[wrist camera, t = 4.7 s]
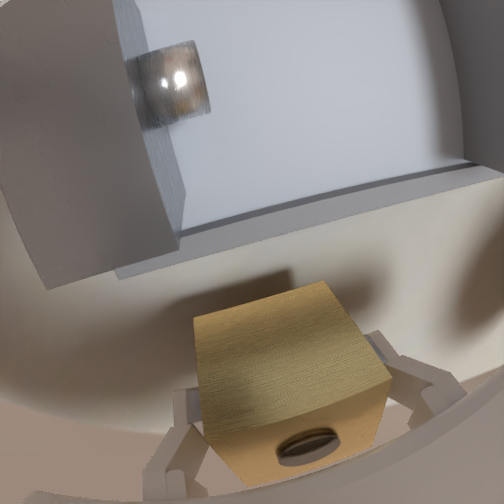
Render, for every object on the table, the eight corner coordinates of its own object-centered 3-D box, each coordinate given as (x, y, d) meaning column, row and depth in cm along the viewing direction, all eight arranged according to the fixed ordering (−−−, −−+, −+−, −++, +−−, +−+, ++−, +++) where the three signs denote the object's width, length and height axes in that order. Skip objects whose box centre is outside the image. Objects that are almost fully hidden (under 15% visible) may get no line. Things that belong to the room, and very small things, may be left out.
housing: (228, 393, 13) (248, 490, 8) (193, 317, 10) (205, 445, 6) (328, 362, 13) (373, 450, 9) (323, 280, 11) (396, 382, 6)
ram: (98, 221, 8) (47, 290, 5) (51, 50, 6) (-25, 27, 2) (224, 181, 9) (245, 231, 5) (180, 0, 6) (172, -71, 2)
